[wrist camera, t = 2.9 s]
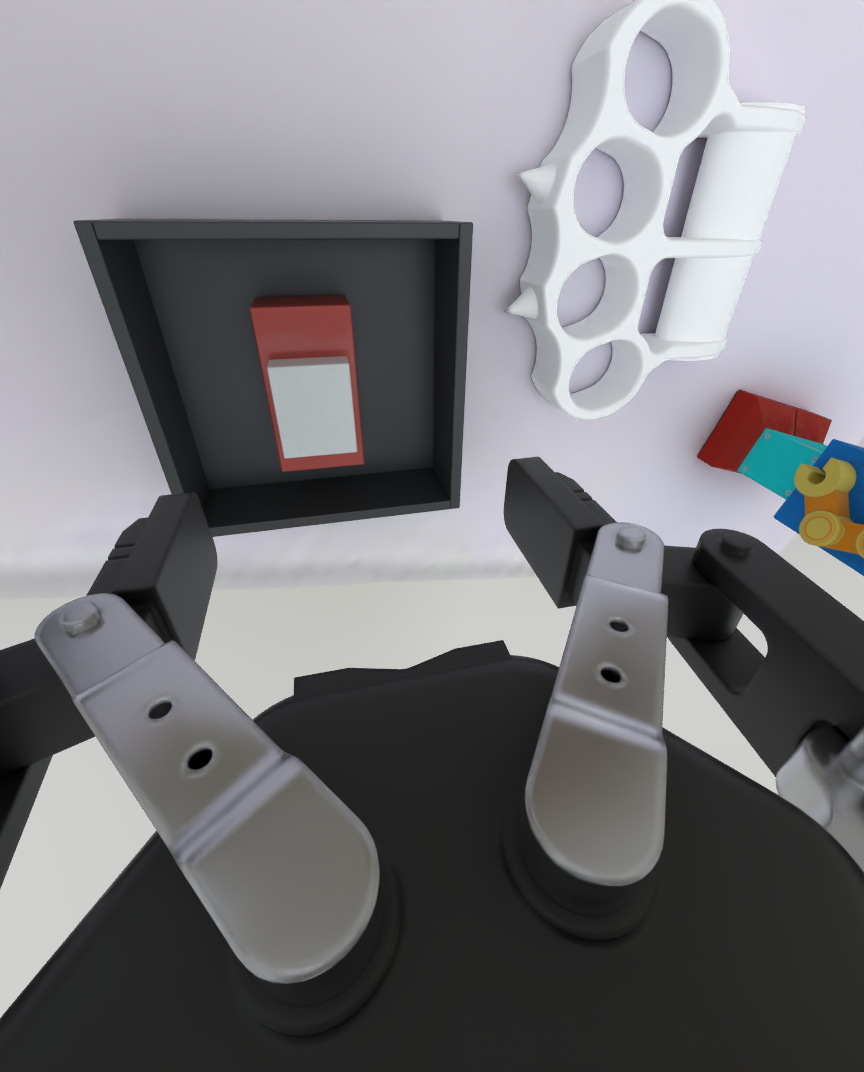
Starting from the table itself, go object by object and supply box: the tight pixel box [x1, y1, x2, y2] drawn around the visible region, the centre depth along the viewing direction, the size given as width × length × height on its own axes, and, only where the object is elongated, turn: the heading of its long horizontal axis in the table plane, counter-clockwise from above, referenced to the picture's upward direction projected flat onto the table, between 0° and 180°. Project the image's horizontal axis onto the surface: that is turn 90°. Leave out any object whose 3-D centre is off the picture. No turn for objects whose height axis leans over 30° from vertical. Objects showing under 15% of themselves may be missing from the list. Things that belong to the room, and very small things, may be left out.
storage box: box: [74, 219, 473, 537], centre depth 24 cm, size 15×14×5 cm
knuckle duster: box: [505, 0, 806, 420], centre depth 25 cm, size 3×18×15 cm
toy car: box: [250, 295, 364, 472], centre depth 24 cm, size 8×4×5 cm, turn 0°
